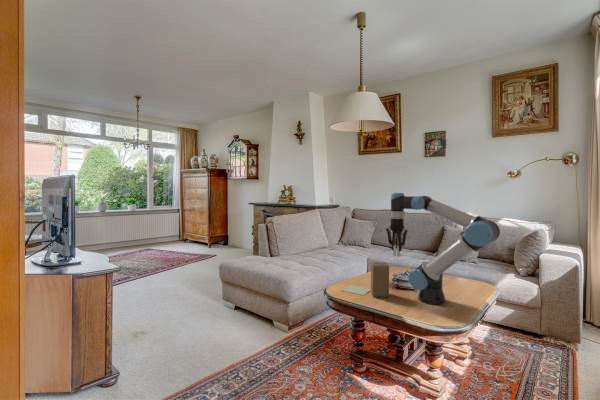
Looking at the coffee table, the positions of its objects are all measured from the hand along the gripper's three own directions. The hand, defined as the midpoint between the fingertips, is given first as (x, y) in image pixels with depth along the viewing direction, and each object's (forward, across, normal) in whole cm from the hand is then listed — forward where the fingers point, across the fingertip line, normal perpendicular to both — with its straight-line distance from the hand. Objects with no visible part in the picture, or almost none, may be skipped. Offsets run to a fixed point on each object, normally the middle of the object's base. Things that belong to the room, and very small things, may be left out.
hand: (396, 256), depth 192 cm
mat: (+26, +26, 0) cm, 37 cm away
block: (+27, +10, 0) cm, 29 cm away
